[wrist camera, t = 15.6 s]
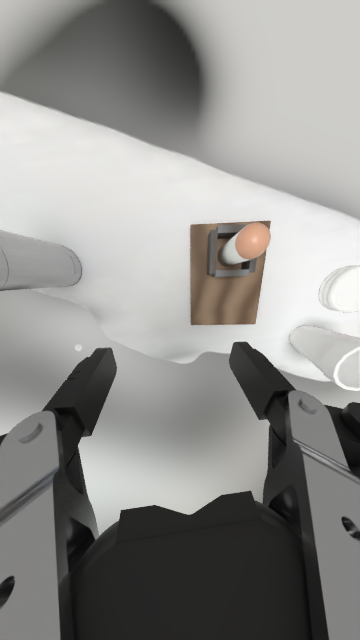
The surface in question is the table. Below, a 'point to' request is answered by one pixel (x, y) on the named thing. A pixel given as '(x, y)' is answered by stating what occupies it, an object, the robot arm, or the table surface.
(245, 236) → the orange-capped post
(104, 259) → the table surface
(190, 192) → the table surface
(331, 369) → the foam cup
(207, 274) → the jig board
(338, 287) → the coaster
